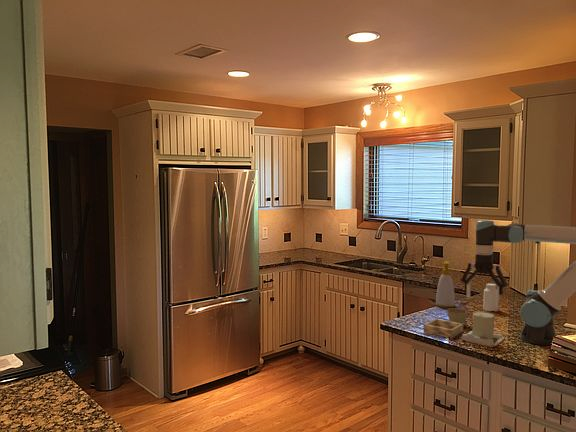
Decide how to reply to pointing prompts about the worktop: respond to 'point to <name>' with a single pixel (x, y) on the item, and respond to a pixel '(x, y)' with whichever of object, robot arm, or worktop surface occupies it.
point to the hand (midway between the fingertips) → (483, 299)
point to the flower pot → (457, 315)
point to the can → (483, 324)
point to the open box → (443, 328)
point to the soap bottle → (445, 289)
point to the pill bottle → (490, 298)
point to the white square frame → (482, 339)
